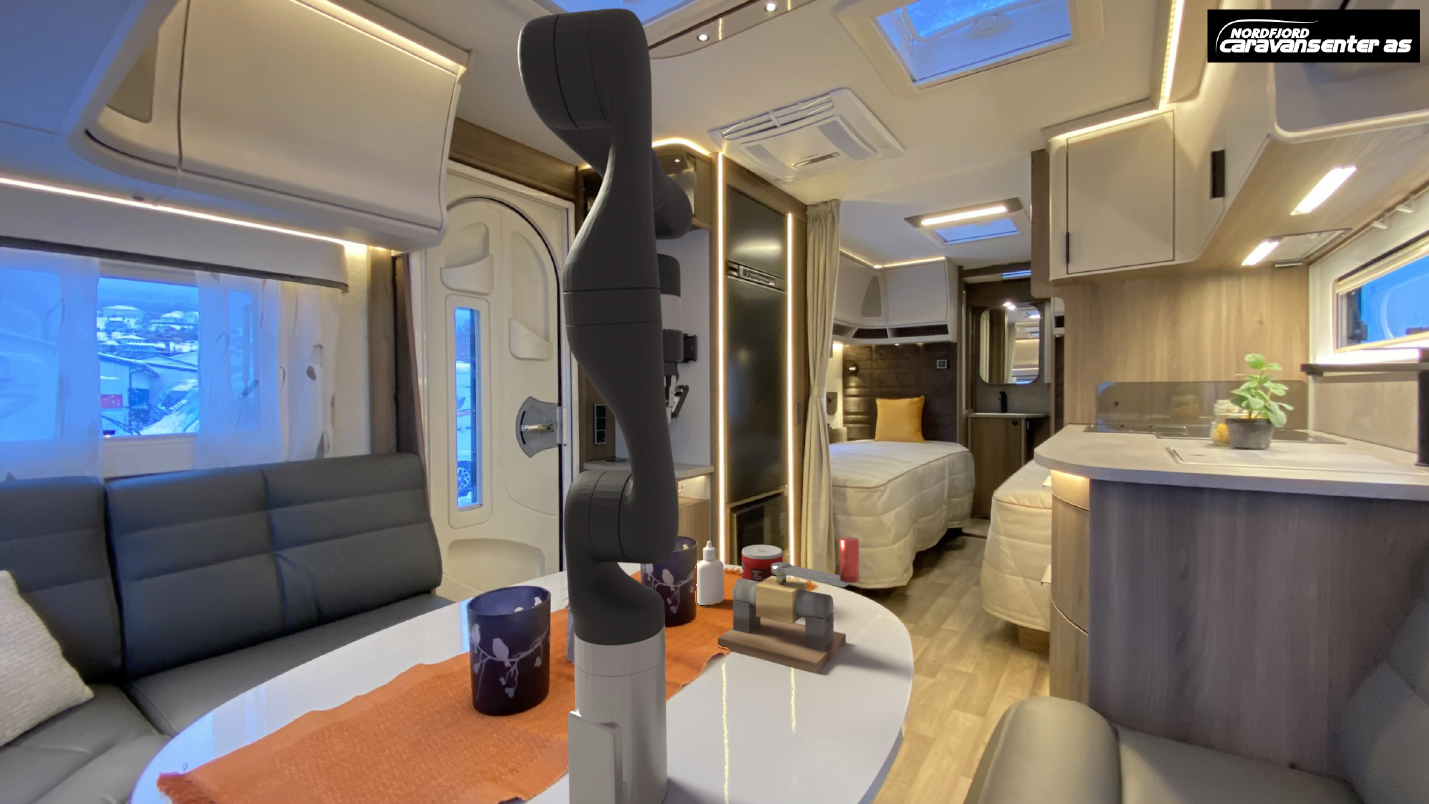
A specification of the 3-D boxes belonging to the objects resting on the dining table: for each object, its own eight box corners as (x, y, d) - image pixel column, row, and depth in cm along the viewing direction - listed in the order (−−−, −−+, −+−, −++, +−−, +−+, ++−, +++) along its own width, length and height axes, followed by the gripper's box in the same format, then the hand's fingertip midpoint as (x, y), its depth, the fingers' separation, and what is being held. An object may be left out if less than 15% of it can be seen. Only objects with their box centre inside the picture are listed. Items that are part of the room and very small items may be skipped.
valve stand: (816, 673, 86) (815, 605, 85) (717, 647, 95) (717, 585, 95) (845, 643, 96) (845, 581, 95) (754, 621, 105) (753, 566, 105)
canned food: (762, 597, 117) (761, 542, 117) (792, 608, 111) (791, 550, 111) (733, 606, 112) (732, 549, 112) (763, 618, 106) (762, 558, 106)
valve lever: (767, 582, 95) (766, 528, 95) (778, 577, 97) (778, 524, 97) (853, 603, 85) (852, 543, 85) (863, 596, 88) (862, 538, 87)
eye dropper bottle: (695, 599, 117) (694, 538, 116) (723, 598, 117) (722, 538, 117) (695, 607, 112) (694, 544, 112) (725, 606, 113) (724, 543, 112)
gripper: (647, 323, 77) (649, 455, 77) (704, 331, 88) (705, 446, 89) (605, 327, 81) (607, 452, 82) (664, 334, 92) (665, 444, 93)
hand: (658, 449), depth 85 cm, fingers closed
